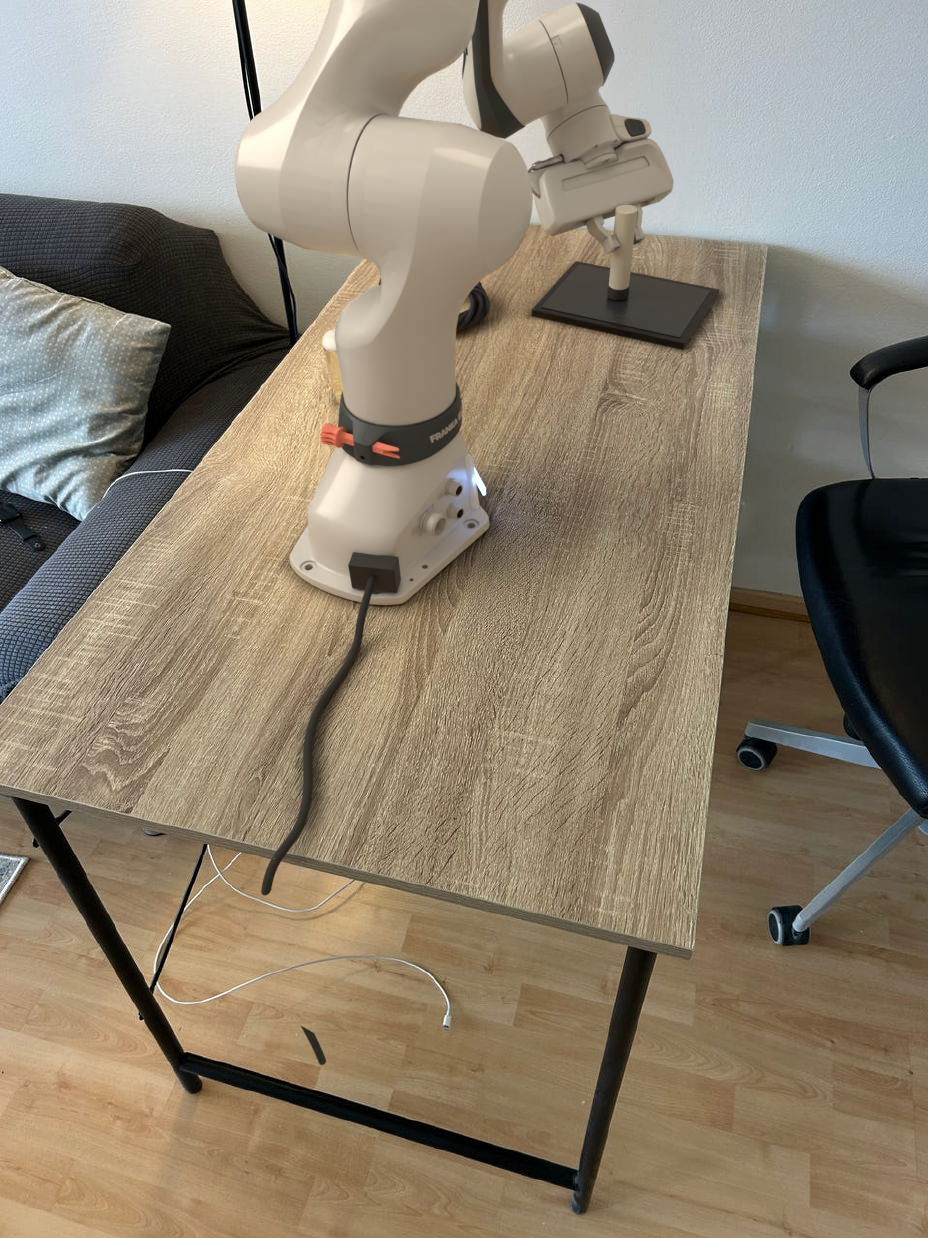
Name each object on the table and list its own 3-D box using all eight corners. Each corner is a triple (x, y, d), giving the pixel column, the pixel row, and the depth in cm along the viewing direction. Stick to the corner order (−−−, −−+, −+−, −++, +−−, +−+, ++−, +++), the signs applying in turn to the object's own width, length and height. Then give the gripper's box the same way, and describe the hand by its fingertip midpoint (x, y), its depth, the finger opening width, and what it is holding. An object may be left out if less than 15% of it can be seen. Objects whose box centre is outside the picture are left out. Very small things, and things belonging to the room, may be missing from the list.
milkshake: (371, 408, 111) (362, 335, 104) (329, 409, 111) (316, 335, 104) (375, 388, 114) (366, 315, 107) (333, 388, 114) (321, 316, 107)
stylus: (624, 302, 125) (633, 215, 116) (603, 297, 126) (611, 211, 117) (631, 292, 126) (641, 206, 118) (611, 288, 127) (619, 202, 119)
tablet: (683, 349, 118) (684, 342, 117) (531, 315, 125) (531, 308, 125) (718, 295, 128) (719, 288, 127) (575, 267, 135) (575, 259, 134)
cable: (500, 299, 129) (500, 270, 126) (474, 349, 120) (473, 319, 117) (388, 286, 133) (385, 258, 129) (354, 334, 123) (350, 305, 120)
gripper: (532, 152, 112) (574, 257, 114) (658, 117, 119) (696, 216, 121) (512, 178, 118) (552, 277, 120) (633, 143, 125) (670, 237, 127)
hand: (626, 246), depth 120 cm, fingers closed on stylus, 3 cm apart
